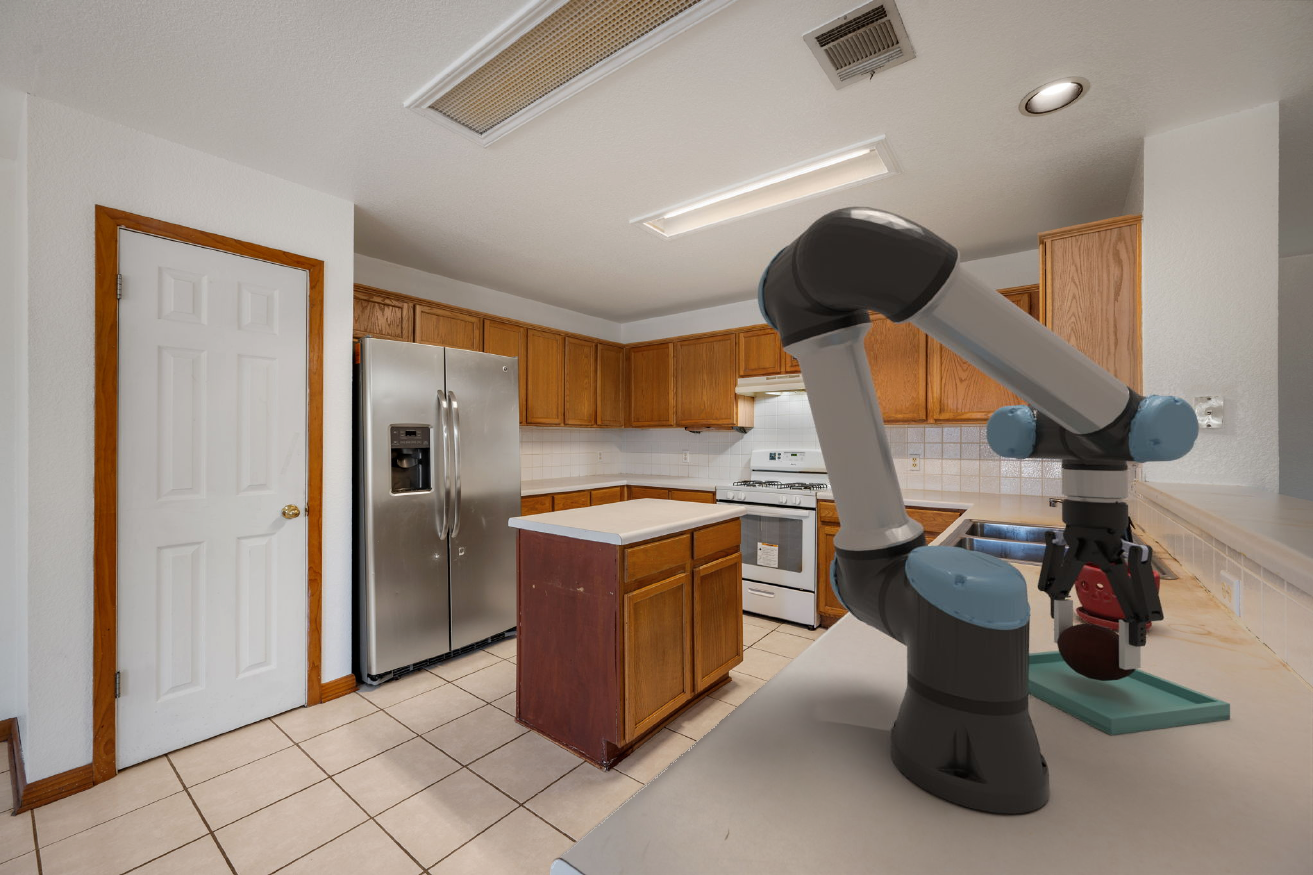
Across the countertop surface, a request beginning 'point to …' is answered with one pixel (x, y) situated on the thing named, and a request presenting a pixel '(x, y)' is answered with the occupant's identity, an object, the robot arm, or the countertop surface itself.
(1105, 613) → the plant pot
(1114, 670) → the dark brown oval
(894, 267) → the robot arm
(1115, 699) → the teal tray
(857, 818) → the countertop surface
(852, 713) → the countertop surface
